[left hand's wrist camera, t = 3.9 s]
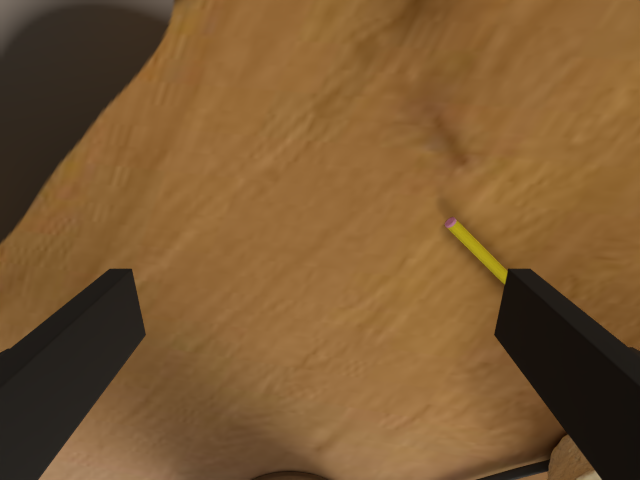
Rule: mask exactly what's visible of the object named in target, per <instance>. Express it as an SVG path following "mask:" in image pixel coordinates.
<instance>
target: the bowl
mask: <svg viewBox="0 0 640 480" xmlns="http://www.w3.org/2000/svg"><path fill="white" fill-rule="evenodd" d="M547 480H602V479H601V478H600V477H599V475H598V474H597V473H596V471H595V470H594V468H593V467H592V466H591V464H590V463H589V462H588V460H587V459H586V458H585V456H584V455H583V454H582V452H581V451H580V450H579V448H578V447H577V446H576V444H575V443H574V442H573V440H572V439H571V438H570V436H569V435H566V436H564V437H563V438H562V439H561V441H560V442H559V444H558V445H557V446H556V447H555V448H554V449H553V451H552V454H551V457H550V463H549V471H548V478H547Z"/></svg>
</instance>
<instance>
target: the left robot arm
mask: <svg viewBox="0 0 640 480" xmlns="http://www.w3.org/2000/svg"><path fill="white" fill-rule="evenodd" d="M145 335H146V334H145V329H144V324H143V319H142V315H141V310H140V305H139V301H138V296H137V291H136V286H135V282H134V277H133V272H132V269H109V270H108V271H106V272H105V273H104V274H103V275H101V276H100V277H99V278H98V279H96V280H95V281H94V282H93V283H91V284H90V285H89V286H88V287H87V288H85V289H84V290H83V291H82V292H80V293H79V294H78V295H77V296H75V297H74V298H73V299H72V300H70V301H69V302H68V303H67V304H65V305H64V306H63V307H62V308H60V309H59V310H58V311H57V312H55V313H54V314H53V315H52V316H50V317H49V318H48V319H47V320H45V321H44V322H43V323H42V324H40V325H39V326H38V327H37V328H35V329H34V330H33V331H32V332H30V333H29V334H28V335H27V336H25V337H24V338H23V339H22V340H20V341H19V342H18V343H17V344H15V345H14V346H13V347H12V348H10V349H6V350H5V351H3V352H1V353H0V480H38V479H39V478H40V477H41V475H42V474H43V473H44V471H45V470H46V468H47V467H48V466H49V464H50V463H51V462H52V460H53V459H54V458H55V456H56V455H57V454H58V452H59V451H60V450H61V448H62V447H63V446H64V444H65V443H66V442H67V440H68V439H69V438H70V436H71V435H72V433H73V432H74V431H75V429H76V428H77V427H78V425H79V424H80V423H81V421H82V420H83V419H84V417H85V416H86V415H87V413H88V412H89V411H90V409H91V408H92V407H93V405H94V404H95V403H96V401H97V400H98V398H99V397H100V396H101V394H102V393H103V392H104V390H105V389H106V388H107V386H108V385H109V384H110V382H111V381H112V380H113V378H114V377H115V376H116V374H117V373H118V372H119V370H120V369H121V368H122V366H123V365H124V363H125V362H126V361H127V359H128V358H129V357H130V355H131V354H132V353H133V351H134V350H135V349H136V347H137V346H138V345H139V343H140V342H141V341H142V339H143V338H144V337H145ZM494 335H495V337H496V338H497V339H498V341H499V342H500V343H501V345H502V346H503V347H504V349H505V350H506V351H507V353H508V354H509V355H510V357H511V358H512V359H513V361H514V362H515V363H516V365H517V366H518V368H519V369H520V370H521V372H522V373H523V374H524V376H525V377H526V378H527V380H528V381H529V382H530V384H531V385H532V386H533V388H534V389H535V390H536V392H537V393H538V394H539V396H540V397H541V398H542V400H543V401H544V403H545V404H546V405H547V407H548V408H549V409H550V411H551V412H552V413H553V415H554V416H555V417H556V419H557V420H558V421H559V423H560V424H561V425H562V427H563V428H564V429H565V431H566V432H567V433H568V435H569V436H570V438H571V439H572V440H573V442H574V443H575V444H576V446H577V447H578V448H579V450H580V451H581V452H582V454H583V455H584V456H585V458H586V459H587V460H588V462H589V463H590V464H591V466H592V467H593V468H594V470H595V471H596V473H597V474H598V475H599V477H600V478H601V479H602V480H640V351H638V350H637V349H635V348H633V347H627V346H626V345H625V344H623V343H622V342H621V341H620V340H618V339H617V338H616V337H615V336H613V335H612V334H611V333H610V332H608V331H607V330H606V329H605V328H603V327H602V326H601V325H600V324H598V323H597V322H596V321H595V320H593V319H592V318H591V317H590V316H588V315H587V314H586V313H585V312H583V311H582V310H581V309H580V308H578V307H577V306H576V305H575V304H573V303H572V302H571V301H570V300H568V299H567V298H566V297H565V296H563V295H562V294H561V293H560V292H558V291H557V290H556V289H555V288H553V287H552V286H551V285H550V284H549V283H547V282H546V281H545V280H544V279H542V278H541V277H540V276H539V275H537V274H536V273H535V272H534V271H532V270H531V269H508V272H507V277H506V282H505V286H504V291H503V296H502V301H501V305H500V310H499V315H498V319H497V324H496V329H495V334H494ZM549 463H550V460H547V461H543V462H538V463H534V464H531V465H527V466H523V467H519V468H515V469H512V470H508V471H505V472H501V473H498V474H494V475H491V476H488V477H484V478H481V479H477V480H516V479H519V478H523V477H527V476H531V475H535V474H539V473H543V472H547V471H549ZM253 480H327V479H325V478H322V477H319V476H316V475H313V474H308V473H302V472H278V473H272V474H267V475H264V476H260V477H258V478H255V479H253Z"/></svg>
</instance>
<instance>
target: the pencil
mask: <svg viewBox="0 0 640 480" xmlns="http://www.w3.org/2000/svg"><path fill="white" fill-rule="evenodd" d="M445 226H446V227H447V228H448V229H449V230H450V231H451V232H452V233H453V234H454V235H455V236H456V237H457V238H458V239H459V240H460V241H461V242H462V243H463V244H464V245H465V246H466V247H467V248H468V249H469V250H470V251H471V252H472V253H473V254H474V255H475V256H476V257H477V258H478V259H479V260H480V261H481V262H482V263H483V264H484V265H485V266H486V267H487V268H488V269H489V270H490V271H491V272H492V273H493V274H494V275H495V276H496V277H497V278H498V279H499V280H500V281H501V282H502V283H503V284H504V285H505V282H506V277H507V272H508V271H507V270H506V269H505V268H504V267H503V266H502V265H501V264H500V263H499V262H498V261H497V260H496V259H495V258H494V257H493V256H492V255H491V254H490V253H489V252H488V251H487V250H486V249H485V248H484V247H483V246H482V245H481V244H480V243H479V242H478V241H477V240H476V239H475V238H474V237H473V236H472V235H471V234H470V233H469V232H468V231H467V230H466V229H465V228H464V227H463V226H462V225H461V224H460V223H459V222H458V221H457V220H456V219H455V218H454V217H451V218H449V219H448V220H447V221H446V222H445Z"/></svg>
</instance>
